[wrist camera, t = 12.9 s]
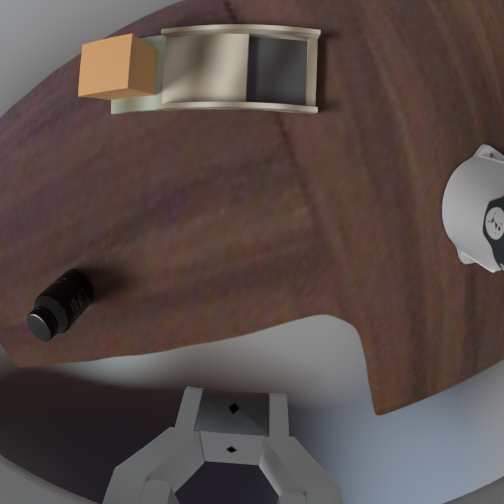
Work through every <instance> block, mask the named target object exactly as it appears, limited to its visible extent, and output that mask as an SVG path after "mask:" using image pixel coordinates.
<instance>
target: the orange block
mask: <svg viewBox="0 0 504 504" xmlns="http://www.w3.org/2000/svg"><path fill="white" fill-rule="evenodd" d="M157 61H158V50H157V49H155V48H154V47H152V46H151V45H149V44H148V43H146V42H145V41H143V40H142V39H140V38H139V37H137V36H136V35H134V34H127V35H122V36H117V37H112V38H108V39H103V40H99V41H95V42H91V43H88V44H84V45H83V48H82V56H81V66H80V78H79V93H78V96H81V97H90V98H99V99H107V100H117V99H125V98H134V97H143V96H154V95H155V93H156V75H157Z"/></svg>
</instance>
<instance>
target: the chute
mask: <svg viewBox="0 0 504 504" xmlns="http://www.w3.org/2000/svg"><path fill="white" fill-rule="evenodd" d="M320 31H321V30H317V29H309V28H300V27H289V26H275V25H251V24H225V25H201V26H187V27H177V28H168V29H161V34H162V35H159V36H151V37H145V38H140V39H142V40H143V41H145V42H146V43H148V44H149V45H151V46H152V47H154V48H155V49H157V50H158V61H157V75H156V93H155V95H154V96H143V97H134V98H125V99H117V100H112V101H111V114H122V113H132V112H143V111H156V110H165V111H168V110H192V109H241V110H266V111H282V112H294V113H305V114H315V113H318V107H315V100H316V77H317V43H318V38H319V36H320Z"/></svg>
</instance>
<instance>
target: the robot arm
mask: <svg viewBox="0 0 504 504" xmlns="http://www.w3.org/2000/svg"><path fill="white" fill-rule="evenodd" d="M490 154H491V157H490ZM442 217H443V223H444V227H445V230H446V233H447V235H448V236H449V238H450V239H451V241H452V242H453V243H454V244H455V246H456V248H457V252H458V256H459V259H460V261H461V262H463V263H464V264H470V263H475V262H477V263H478V264H480V265H481V266H483V267H484V268H486V269H487V270H489V271H491V272H495V271H500V270H502V269H503V270H504V155H502V154H501V153H499V152H498V151H497V150H495V149H494V148H492V147H491V146H489V145H486V144H482V145H481V146H480V147H479V148H478V150H477V151H476V153H475V154H474V156H473V157H471V158H470V159H468V160H467V161H465V162H463V163H462V164H461V165H460V166H459V167H458V168H457V169H456V170H455V171H454V173H453V174H452V176H451V177H450V179H449V181H448V184H447V186H446V189H445V192H444V197H443V203H442ZM204 461H213V462H227V463H239V464H251V465H259V466H260V468H261V470H262V471H263V473H264V474H265V476H266V477H267V479H268V480H269V482H270V483H271V485H272V486H273V487H274V489H275V491H276V492H277V494H278V495H279V496H280V497H279V500H278V502H277V504H343V498H342V491H341V488H340V487H339V486H338V485H337V484H336V483H335V481H334V480H333V479H332V478H331V477H330V476H329V475H328V474H327V473H326V472H325V471H324V470H323V469H322V468H321V467H320V466H319V464H317V462H316V461H315V460H314V459H313V458H312V457H311V456H310V455H309V453H308V452H307V451H306V450H305V449H304V448H303V447H302V446H301V444H300V443H299V442H298V441H297V440H296V439H295V438H294V437H289V426H288V409H287V396H286V395H285V394H272V393H271V394H270V393H269V394H268V393H250V392H228V391H219V390H211V389H202V388H194V387H187V388H186V390H185V393H184V396H183V400H182V403H181V407H180V410H179V414H178V418H177V421H176V425H175V428H172V427H170V428H169V429H167V430H166V431H164V432H163V433H162V434H161V435H159V436H158V437H157V438H155V439H154V440H153V441H151V442H150V443H149V444H148V445H146V446H145V447H143V448H142V449H141V450H139V451H138V452H137V453H135V454H134V455H133V456H131V457H130V458H129V459H127V460H126V461H124V462H123V463H122V464H120V465H119V466H117V467H116V468H115V470H114V472H113V475H112V478H111V481H110V484H109V486H108V489H107V492H106V495H105V498H104V501H103V504H179V502H178V500H177V499H176V496H175V495H174V493H175V492H176V491H177V489H179V488H180V487H181V486H182V484H184V483H185V482H186V481H187V480H188V479H189V478H190V477H191V476H192V475H193V474H194V472H195V471H196V470H197V469H198V468H199V467H200V466H201V465H202V464H203V463H204ZM0 504H98V503H95V502H93V501H89V500H87V499H85V498H82V497H80V496H77V495H75V494H72V493H70V492H68V491H66V490H63V489H61V488H59V487H57V486H55V485H53V484H50V483H48V482H46V481H44V480H42V479H40V478H39V477H37V476H35V475H33V474H30V473H29V472H27V471H25V470H24V469H22V468H20V467H18V466H17V465H15V464H13V463H12V462H10V461H8V460H7V459H5V458H4V457H2V456H0ZM443 504H504V476H503V477H501V478H500V479H498V480H496V481H494V482H492V483H490V484H488V485H486V486H484V487H482V488H480V489H477V490H475V491H473V492H471V493H468V494H466V495H464V496H461V497H459V498H456V499H454V500H451V501H449V502H446V503H443Z"/></svg>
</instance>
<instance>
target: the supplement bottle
mask: <svg viewBox="0 0 504 504" xmlns="http://www.w3.org/2000/svg"><path fill="white" fill-rule="evenodd" d="M92 299H93V290H92V287H91V284H90V283H89V281H88V280H87V278H86V277H85V276H84V275H82V274H81V273H79V272H77V271H67V272H65V273H64V274H63V275H61V276H60V277H59V278H58V279H57V280H55V281H54V282H53V283H52V284H51V285H50V286H49V287H47V288H46V289H45V290H44V291H43V292H42V293H41V294H40V295H39V296H38V297H37V298H36V301H35V308H34V309H33V310H32V312H30V313H29V314H28V316H27V323H28V326H29V328H30V330H31V331H32V332H33V334H34V335H35V336H36V337H37V338H39V339H40V340H42V341H50V340H51V339H52V338H53V337H54V336H55V335H56V334H61V333H64V332H66V331H67V330H68V329H69V328H70V327H71V326H72V325H73V323H74V322H75V321H76V320H77V319H78V317H79V316H80V315H81V314H82V313H83V312H84V311H85V309H86V308H87V307H88V306H89V305H90V303H91V302H92Z"/></svg>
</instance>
